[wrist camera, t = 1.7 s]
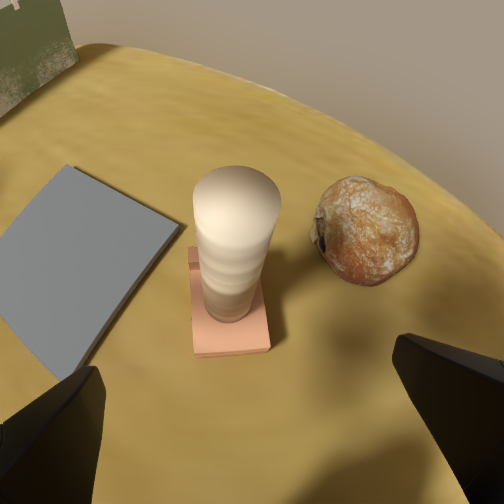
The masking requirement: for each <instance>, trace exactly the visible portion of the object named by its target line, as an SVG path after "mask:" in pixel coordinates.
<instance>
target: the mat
mask: <svg viewBox="0 0 504 504" xmlns="http://www.w3.org/2000/svg"><path fill="white" fill-rule="evenodd" d="M179 230H180V229H179V225H178V224H177V223H175V222H173V221H171V220H169V219H167V218H165V217H163V216H162V215H160V214H158V213H156V212H154V211H152V210H150V209H149V208H147V207H145V206H143V205H141V204H139V203H137V202H136V201H134V200H132V199H130V198H128V197H126V196H124V195H123V194H121V193H119V192H117V191H115V190H113V189H111V188H110V187H108V186H106V185H104V184H102V183H100V182H99V181H97V180H95V179H93V178H91V177H89V176H88V175H86V174H84V173H82V172H80V171H78V170H77V169H75V168H73V167H71V166H69V165H65V166H64V167H63V168H62V169H61V170H60V171H59V172H58V173H57V174H56V175H55V176H54V177H53V178H52V179H51V180H50V181H49V182H48V183H47V184H46V185H45V186H44V187H43V189H42V190H41V191H40V192H39V193H38V194H37V195H36V196H35V197H34V198H33V199H32V200H31V202H30V203H29V204H28V205H27V206H26V207H25V208H24V210H23V211H22V212H21V213H20V214H19V215H18V217H17V218H16V219H15V220H14V221H13V223H12V224H11V225H10V226H9V228H8V229H7V230H6V231H5V233H4V234H3V235H2V236H1V238H0V315H1V316H2V318H3V319H4V320H5V322H6V323H7V324H8V325H9V327H10V328H11V329H12V330H13V331H14V333H15V334H16V335H17V336H18V337H19V339H20V340H21V341H22V342H23V343H24V344H25V345H26V347H27V348H28V349H29V350H30V351H31V352H32V353H33V354H34V355H35V357H36V358H37V359H38V360H39V361H40V362H41V363H42V364H43V365H44V366H45V367H46V368H47V369H48V370H49V371H50V372H51V373H52V374H53V375H54V376H55V377H56V378H57V379H58V380H59V381H60V382H61V381H62V380H64V379H65V378H66V377H68V376H69V375H71V374H72V373H73V372H75V371H76V370H78V369H79V368H81V367H82V366H83V364H84V363H85V361H86V360H87V358H88V357H89V355H90V354H91V352H92V350H93V349H94V347H95V346H96V344H97V343H98V341H99V340H100V338H101V337H102V335H103V334H104V332H105V331H106V329H107V328H108V326H109V325H110V324H111V322H112V321H113V319H114V318H115V316H116V315H117V313H118V312H119V311H120V309H121V308H122V306H123V305H124V303H125V302H126V301H127V299H128V298H129V296H130V295H131V294H132V292H133V291H134V289H135V288H136V287H137V285H138V284H139V283H140V281H141V280H142V279H143V277H144V276H145V274H146V273H147V272H148V270H149V269H150V268H151V266H152V265H153V264H154V262H155V261H156V260H157V259H158V257H159V256H160V255H161V253H162V252H163V251H164V249H165V248H166V247H167V246H168V244H169V243H170V242H171V240H172V239H173V238H174V237H175V235H176V234H177V233H178V231H179Z"/></svg>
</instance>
